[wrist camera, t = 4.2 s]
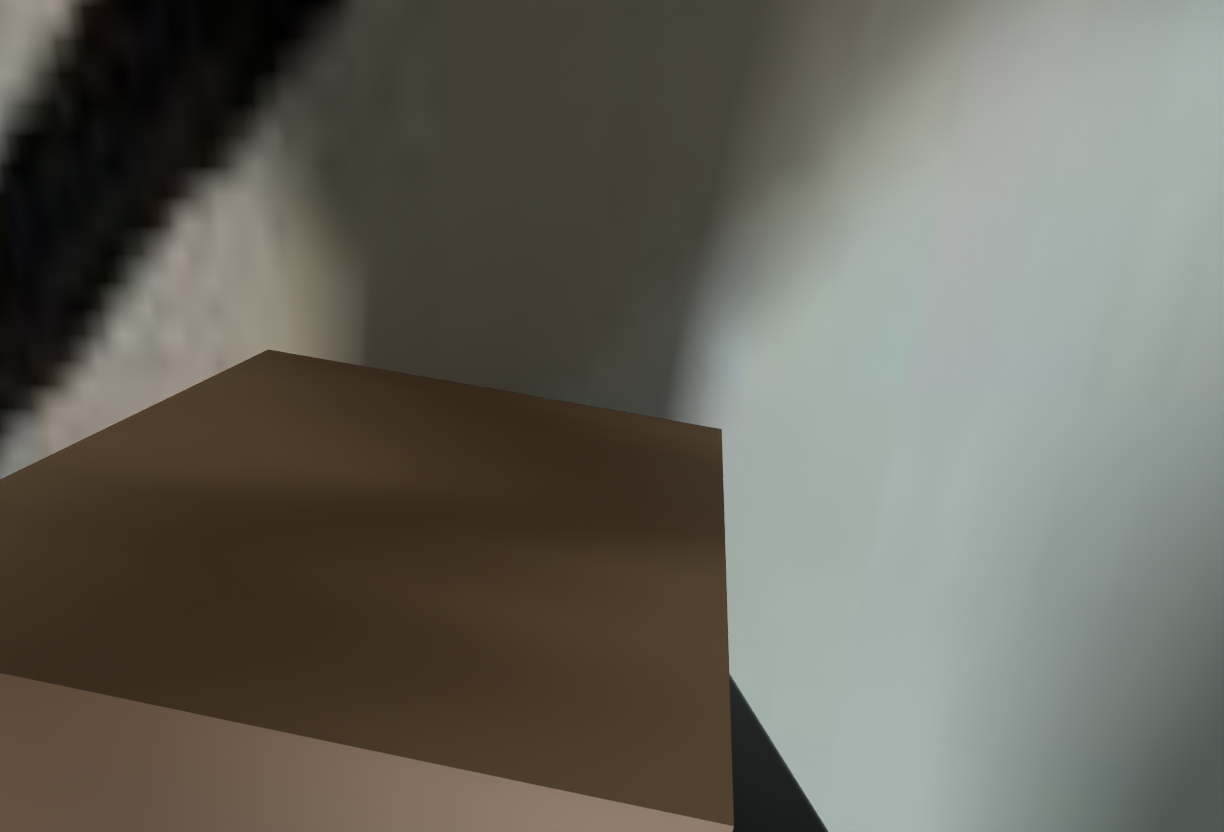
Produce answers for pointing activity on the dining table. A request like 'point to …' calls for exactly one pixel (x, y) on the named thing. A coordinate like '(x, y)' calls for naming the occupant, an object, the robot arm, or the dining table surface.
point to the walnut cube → (366, 614)
